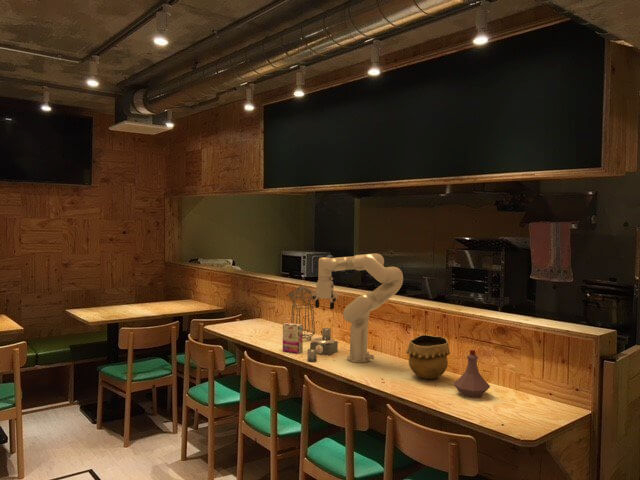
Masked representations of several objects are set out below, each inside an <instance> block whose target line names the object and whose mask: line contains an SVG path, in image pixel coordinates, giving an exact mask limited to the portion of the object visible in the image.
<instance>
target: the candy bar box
mask: <svg viewBox="0 0 640 480" xmlns="http://www.w3.org/2000/svg"><path fill="white" fill-rule="evenodd" d="M303 330H304V324H301V323H300V324H299V323H297V324H296V323H295V322H294V323H293V322H292V323H291V322H285V323H283V324H282V352H283V353H291V354H297V355H298V354H301V353H303V351H304V350H303V342H304V340H303V338H304V336H303V334H304V331H303Z"/></svg>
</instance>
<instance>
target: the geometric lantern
mask: <svg viewBox="0 0 640 480" xmlns="http://www.w3.org/2000/svg"><path fill="white" fill-rule="evenodd" d="M312 292H313V291H312V290H311V289H309V288H308V287H306V286H305V285H301V286H299V287H297V288H295V289H294V290H292V291H290V292H288V293H287V295H288V297H289V298H290V300H291V301H292V302H293V303H292V306H291V317H292V318H290V319H291V321H290V323H294V324H301V310H302V309H305V310H304V314H305V315H304V316H305V317H304V329H303V339H305V338H306V339H307V340H305V342H311V341H312V337H313V336H314V335H315V334H316V329H315V327H316V326H314V325H315V316H314V315H315V314H314V311H315V309H314V305H312V304H311V300H312V301H314V299H313V296H312V294H311V293H312ZM308 294H309V295H308ZM315 296H316V294H315ZM306 298H307V300H305V299H306ZM309 298H310V299H309ZM297 299H299V300H300V301H302V304H296V302H297ZM306 302H307V303H306ZM304 303H305V304H304ZM298 306H299V308H298ZM302 306H305V307H302ZM294 309H295V310H296V311H298V315H296V318H295V310H294ZM309 310H310V312H311V313H310V312H309ZM310 314H311V327H312V330H310V328H308V329H306V328H307V320H308V325H310ZM294 318H295V319H296V321H294V320H295V319H294ZM298 318H299V320H298ZM307 318H308V319H307ZM295 322H296V323H295ZM306 331H307V332H306ZM309 332H310V333H312V334H308V333H309Z"/></svg>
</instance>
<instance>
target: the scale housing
mask: <svg viewBox="0 0 640 480" xmlns="http://www.w3.org/2000/svg"><path fill="white" fill-rule="evenodd" d="M309 346H310V347H309V349H316V350H317V355H322V356H327V355H328V357H329V356H331V355H333V354H335V353H337V352H339V350H338V348H339V347H338V346H339V341H337V340H334V343H333V344H317V343H314V340H313V341H312V342H311V341H310V343H309Z"/></svg>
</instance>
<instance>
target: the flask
mask: <svg viewBox="0 0 640 480" xmlns="http://www.w3.org/2000/svg"><path fill="white" fill-rule="evenodd" d="M466 358H467V365H466V369H465V371H464V372H463V374H462V375H461V376H460V377H459V378H458V379H457V380H455V381H454V383H452V384H453V386H454V387H455V389H456V390H457V391H458V392H459V394H460V395H462V396H463V397H465V398H471V399H476V398H477V399H478V398H479V399H480V398H481V397H482V396H483V395H484V394H485V393H486V392H487V391H488V390H489V389H490V388H491V385H490V384H489V383H488V382H487V381H486V380H485V378H484V377H483V376H482V375H481V374H480V372H479V371H480V370H479V368H478V362H477V361H478V359H479V356H478V355H477V354H476V350H475V349H470V350H469V354H468V355H467V356H466Z"/></svg>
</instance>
